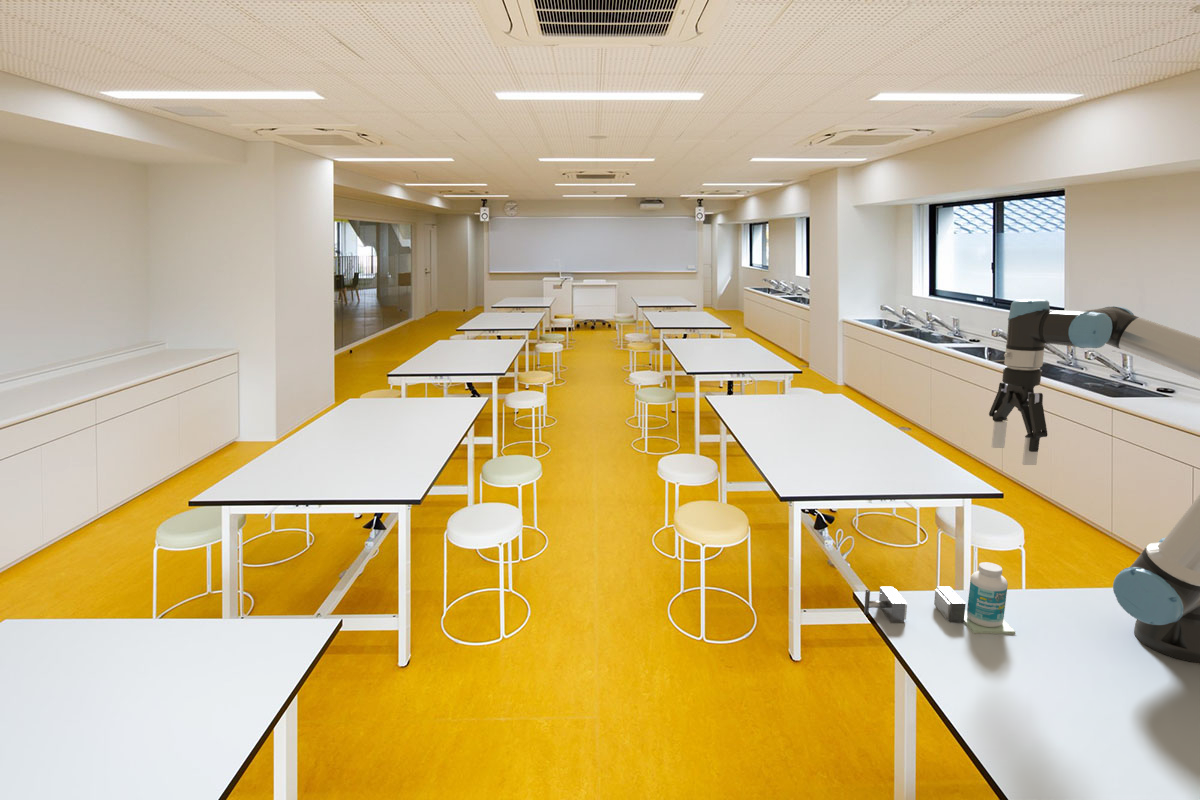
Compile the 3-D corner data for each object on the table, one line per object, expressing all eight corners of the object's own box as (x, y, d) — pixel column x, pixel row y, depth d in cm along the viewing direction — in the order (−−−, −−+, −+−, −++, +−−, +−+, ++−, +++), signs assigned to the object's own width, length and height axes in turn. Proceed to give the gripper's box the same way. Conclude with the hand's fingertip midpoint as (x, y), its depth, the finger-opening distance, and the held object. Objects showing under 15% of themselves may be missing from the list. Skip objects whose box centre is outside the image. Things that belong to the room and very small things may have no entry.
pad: (994, 612, 162) (994, 610, 162) (1015, 633, 153) (1015, 631, 153) (955, 612, 163) (955, 610, 162) (974, 633, 154) (974, 631, 154)
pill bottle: (973, 627, 155) (978, 573, 152) (961, 611, 162) (966, 558, 159) (1009, 629, 154) (1015, 574, 151) (995, 612, 161) (1001, 559, 158)
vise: (947, 609, 166) (950, 582, 165) (963, 626, 158) (966, 599, 157) (858, 609, 167) (860, 582, 166) (869, 626, 159) (871, 599, 158)
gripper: (978, 358, 169) (971, 441, 174) (1037, 377, 145) (1026, 472, 149) (1010, 358, 169) (1001, 440, 173) (1073, 376, 144) (1061, 472, 149)
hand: (1012, 455), depth 161 cm, fingers open, 13 cm apart
